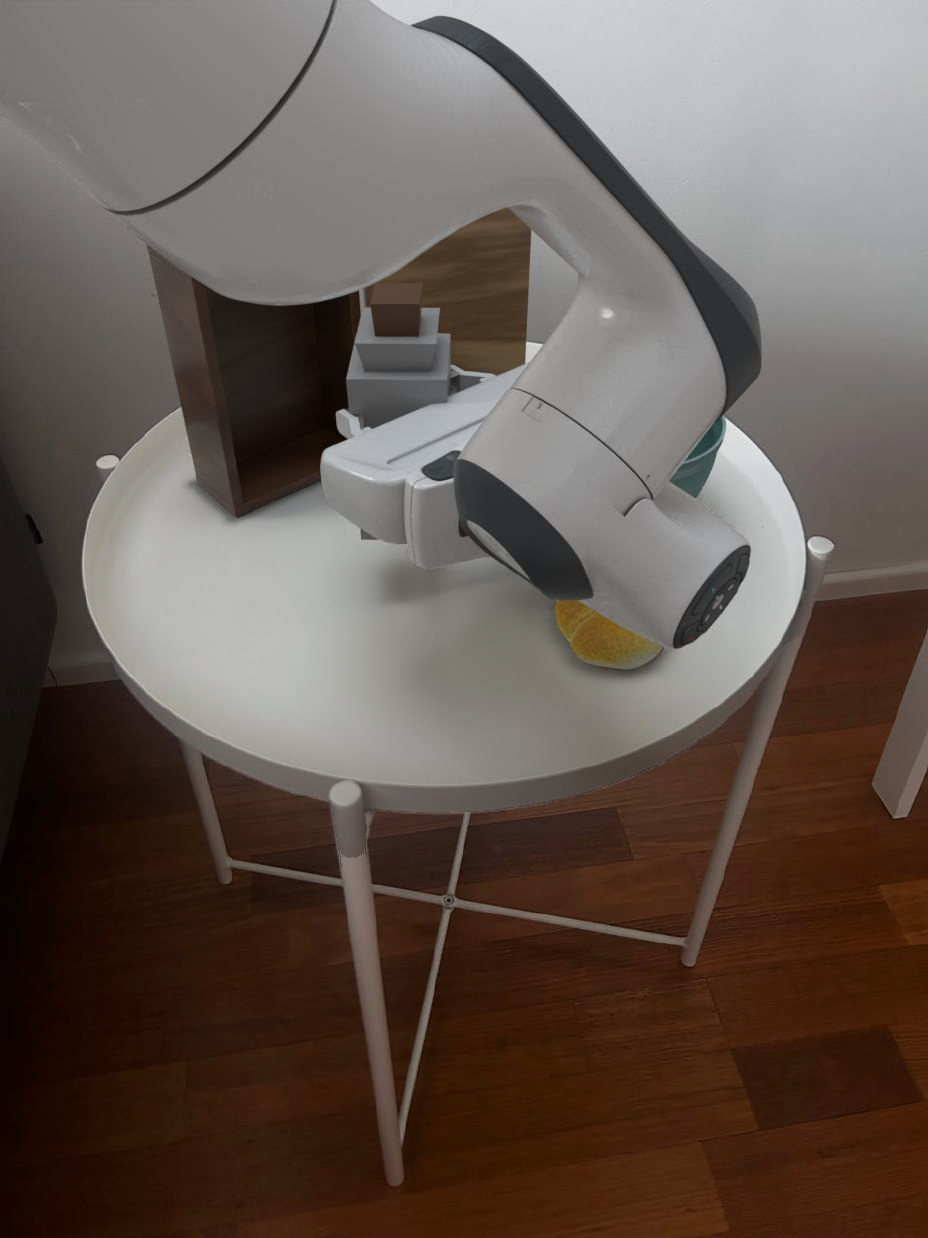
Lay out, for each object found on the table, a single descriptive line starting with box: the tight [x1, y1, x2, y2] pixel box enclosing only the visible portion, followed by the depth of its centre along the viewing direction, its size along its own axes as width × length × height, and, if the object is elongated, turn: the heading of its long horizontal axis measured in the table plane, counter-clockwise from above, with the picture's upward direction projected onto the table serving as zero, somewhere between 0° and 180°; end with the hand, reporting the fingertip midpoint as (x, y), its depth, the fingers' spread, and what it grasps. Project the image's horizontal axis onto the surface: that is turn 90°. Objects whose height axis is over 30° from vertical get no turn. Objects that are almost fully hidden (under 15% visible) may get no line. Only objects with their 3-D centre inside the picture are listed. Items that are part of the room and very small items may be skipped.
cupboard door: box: [362, 207, 532, 376], centre depth 93 cm, size 6×15×23 cm, turn 110°
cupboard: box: [146, 244, 362, 518], centre depth 88 cm, size 7×15×23 cm, turn 130°
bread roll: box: [554, 600, 664, 671], centre depth 78 cm, size 8×9×4 cm
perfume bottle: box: [346, 283, 451, 541], centre depth 73 cm, size 7×7×18 cm
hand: (394, 396), depth 73 cm, fingers closed on perfume bottle, 7 cm apart
